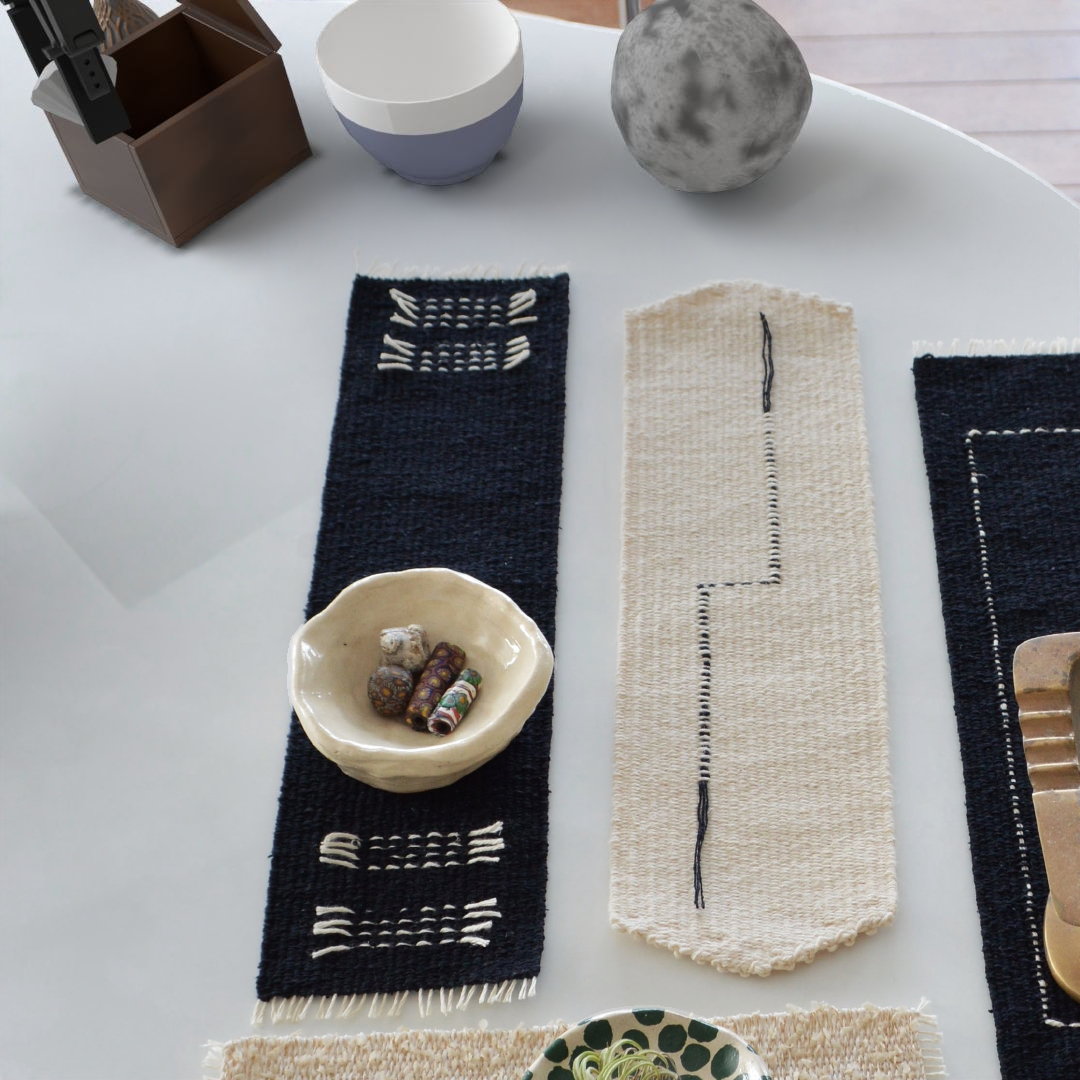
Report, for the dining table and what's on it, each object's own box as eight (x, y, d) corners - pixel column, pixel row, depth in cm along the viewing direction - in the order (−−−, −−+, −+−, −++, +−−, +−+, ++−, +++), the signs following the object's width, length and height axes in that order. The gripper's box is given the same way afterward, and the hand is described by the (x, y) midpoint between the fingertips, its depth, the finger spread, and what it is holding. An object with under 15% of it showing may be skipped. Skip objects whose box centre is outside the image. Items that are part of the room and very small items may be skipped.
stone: (653, 109, 123) (638, -70, 110) (830, 139, 120) (835, -40, 108) (595, 219, 115) (572, 40, 102) (782, 254, 113) (782, 75, 100)
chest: (177, 248, 114) (134, 148, 106) (82, 191, 117) (34, 91, 110) (313, 154, 120) (281, 54, 112) (218, 103, 123) (182, 3, 116)
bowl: (559, 102, 123) (543, -8, 115) (509, 222, 115) (488, 113, 107) (381, 83, 125) (353, -27, 117) (319, 201, 117) (284, 91, 108)
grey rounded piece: (72, 130, 93) (25, 56, 92) (60, 170, 99) (15, 100, 97) (157, 100, 96) (112, 28, 95) (141, 141, 102) (99, 73, 100)
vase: (93, 89, 125) (49, -11, 117) (163, 57, 127) (125, -43, 120) (133, 125, 122) (91, 25, 114) (204, 92, 124) (168, -9, 117)
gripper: (-223, -308, 81) (-22, 80, 101) (-78, -190, 74) (107, 201, 94) (-97, -350, 83) (75, 36, 103) (55, -240, 76) (208, 150, 96)
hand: (90, 113), depth 98 cm, fingers closed on grey rounded piece, 5 cm apart
